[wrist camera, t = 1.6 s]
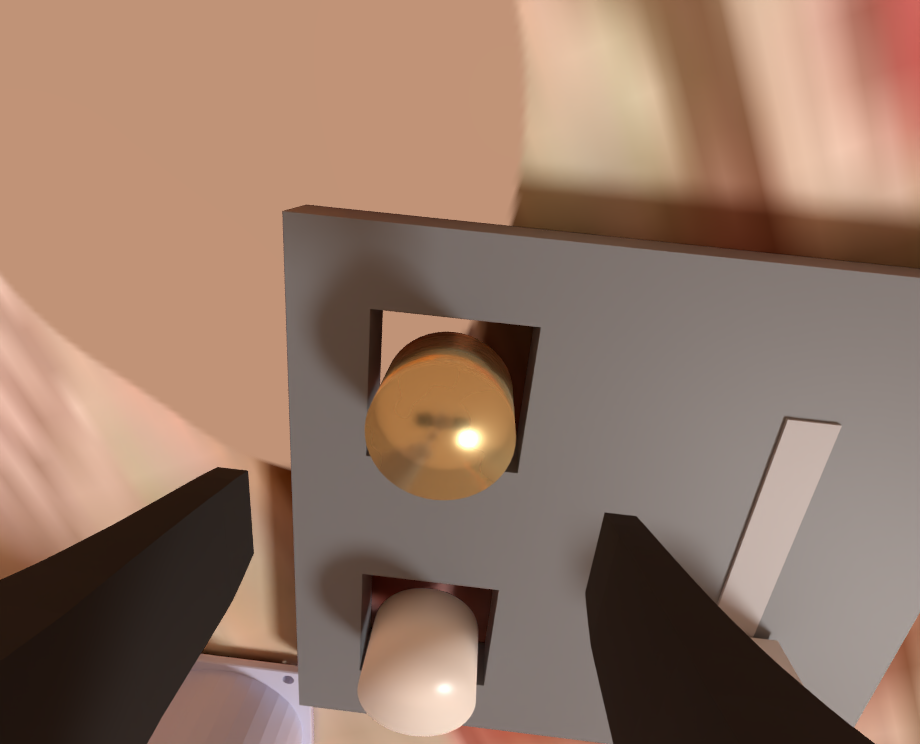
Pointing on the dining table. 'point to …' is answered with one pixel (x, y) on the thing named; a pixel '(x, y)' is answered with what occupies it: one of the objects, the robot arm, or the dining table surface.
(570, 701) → the control panel
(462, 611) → the white button
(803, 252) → the dining table surface
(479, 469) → the brass button
